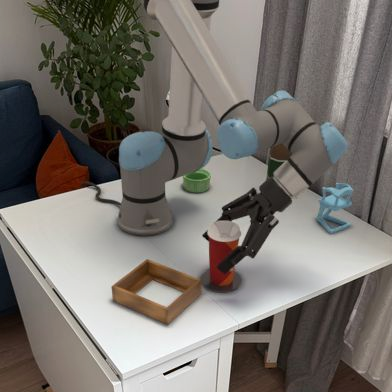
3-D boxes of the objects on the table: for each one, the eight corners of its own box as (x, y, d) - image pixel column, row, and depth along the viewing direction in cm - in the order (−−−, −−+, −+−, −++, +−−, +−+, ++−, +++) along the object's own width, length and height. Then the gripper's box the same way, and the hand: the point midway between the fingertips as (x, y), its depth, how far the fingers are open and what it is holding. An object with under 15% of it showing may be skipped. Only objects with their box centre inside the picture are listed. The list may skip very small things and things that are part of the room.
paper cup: (237, 288, 121) (242, 236, 112) (205, 288, 121) (207, 236, 112) (236, 270, 127) (240, 219, 118) (205, 269, 127) (207, 218, 118)
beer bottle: (272, 197, 157) (283, 116, 141) (260, 186, 163) (269, 107, 146) (294, 193, 160) (307, 112, 143) (281, 182, 165) (292, 104, 149)
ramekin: (204, 195, 157) (205, 182, 154) (177, 190, 159) (177, 177, 156) (214, 184, 163) (215, 170, 160) (188, 179, 166) (188, 165, 163)
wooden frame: (112, 300, 118) (111, 286, 115) (147, 272, 126) (146, 258, 124) (168, 324, 112) (168, 310, 109) (201, 293, 120) (201, 279, 118)
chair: (329, 214, 150) (338, 175, 142) (350, 226, 145) (360, 186, 137) (310, 221, 147) (317, 181, 139) (330, 234, 142) (340, 193, 134)
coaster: (192, 283, 123) (192, 282, 123) (213, 264, 130) (213, 263, 129) (228, 297, 120) (228, 296, 119) (248, 277, 126) (248, 275, 125)
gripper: (313, 226, 105) (238, 293, 112) (274, 174, 122) (210, 235, 130) (293, 204, 100) (215, 276, 108) (255, 154, 118) (190, 218, 125)
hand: (212, 254), depth 119 cm, fingers open, 13 cm apart
